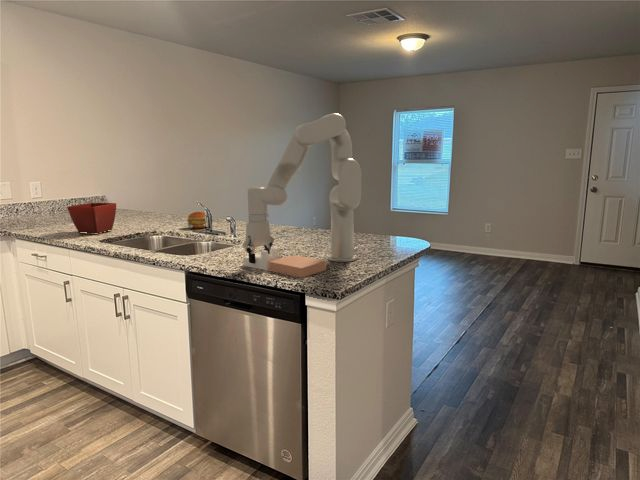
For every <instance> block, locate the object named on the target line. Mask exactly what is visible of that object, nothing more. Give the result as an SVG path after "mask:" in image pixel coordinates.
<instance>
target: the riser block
mask: <svg viewBox="0 0 640 480" xmlns="http://www.w3.org/2000/svg"><path fill="white" fill-rule="evenodd" d="M269 266H270V269H269V271H270V272H276V273H280V274H284V275H288V276H293V277H298V278H305V277H307V276H311V275H314V274H316V273H317V274H318V273H320V272H323V271H326V270H327V261H326V260H323V259H318V258H312V257H307V256H300V255H297V254H293V255H288V256H285V257H282V258H279V259H277V260H273V261H270V262H269Z"/></svg>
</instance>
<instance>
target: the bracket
mask: <svg viewBox="0 0 640 480" xmlns="http://www.w3.org/2000/svg"><path fill="white" fill-rule="evenodd" d="M270 251H271V252H270V254H268V251H266V250H263V249H262V250H260V254H259V253H254V254H255V263H249V255H246V256H243V257H242V259H243V261H242V262H243V266H244V267H249V268H254V269H259V270H260V269H261V270H265V271H270V266H269V262H270V261H273V260H277V259H280V258H279V247H271V250H270Z"/></svg>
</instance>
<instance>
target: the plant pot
mask: <svg viewBox="0 0 640 480" xmlns="http://www.w3.org/2000/svg"><path fill="white" fill-rule="evenodd" d="M66 207H67V211H68V214H69V215H70V218H71V221H72V223H73V224H74V226H75V228H76V230H77V232H78V233H79V232H87V233H100V232H104V231H108V230H113V227H114V225H115V224H114V223H115V218H116V212H117V203H116V202H88V203H83V204H75V205H68V206H66Z"/></svg>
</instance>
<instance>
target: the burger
mask: <svg viewBox="0 0 640 480" xmlns="http://www.w3.org/2000/svg"><path fill="white" fill-rule="evenodd" d="M204 213H205V212H203V211H194V212H192V213H190V214H189V215H188V217H187V226H188V228H190V229H195V230H196V229H197V230H198V229H206V228H205V223H206V221H205V215H204Z"/></svg>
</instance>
